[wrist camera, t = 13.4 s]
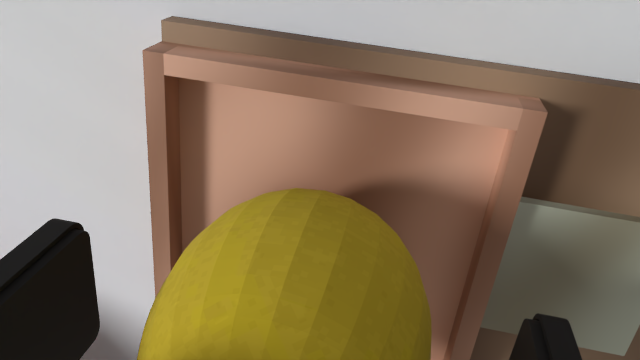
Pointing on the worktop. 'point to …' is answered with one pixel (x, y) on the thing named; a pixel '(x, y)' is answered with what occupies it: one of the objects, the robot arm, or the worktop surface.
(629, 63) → the worktop surface
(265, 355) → the lemon
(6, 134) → the worktop surface
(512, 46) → the worktop surface
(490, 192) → the board
